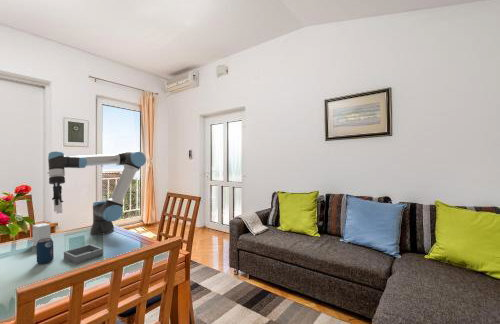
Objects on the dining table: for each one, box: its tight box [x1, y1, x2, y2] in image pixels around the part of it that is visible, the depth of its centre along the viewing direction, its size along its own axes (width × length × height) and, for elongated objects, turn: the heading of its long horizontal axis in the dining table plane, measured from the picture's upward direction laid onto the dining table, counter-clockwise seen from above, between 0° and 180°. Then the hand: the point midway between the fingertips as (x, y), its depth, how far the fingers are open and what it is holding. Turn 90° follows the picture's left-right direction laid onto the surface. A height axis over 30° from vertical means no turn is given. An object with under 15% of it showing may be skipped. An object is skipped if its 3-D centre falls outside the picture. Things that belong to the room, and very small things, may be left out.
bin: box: [63, 243, 104, 265], centre depth 136 cm, size 14×14×4 cm
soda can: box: [35, 237, 55, 265], centre depth 129 cm, size 7×7×12 cm
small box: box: [32, 222, 52, 247], centre depth 153 cm, size 8×6×13 cm
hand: (58, 212), depth 142 cm, fingers open, 13 cm apart
